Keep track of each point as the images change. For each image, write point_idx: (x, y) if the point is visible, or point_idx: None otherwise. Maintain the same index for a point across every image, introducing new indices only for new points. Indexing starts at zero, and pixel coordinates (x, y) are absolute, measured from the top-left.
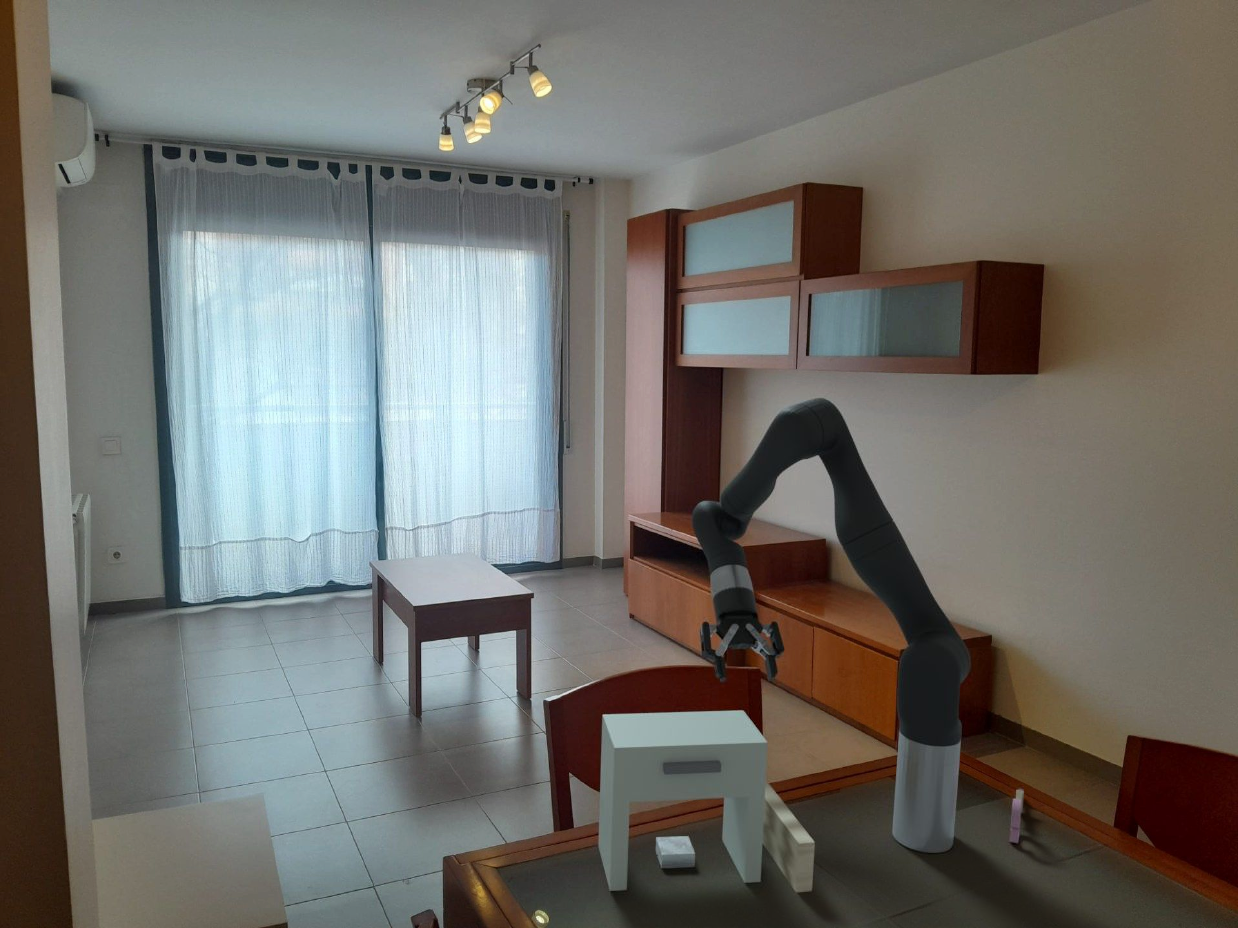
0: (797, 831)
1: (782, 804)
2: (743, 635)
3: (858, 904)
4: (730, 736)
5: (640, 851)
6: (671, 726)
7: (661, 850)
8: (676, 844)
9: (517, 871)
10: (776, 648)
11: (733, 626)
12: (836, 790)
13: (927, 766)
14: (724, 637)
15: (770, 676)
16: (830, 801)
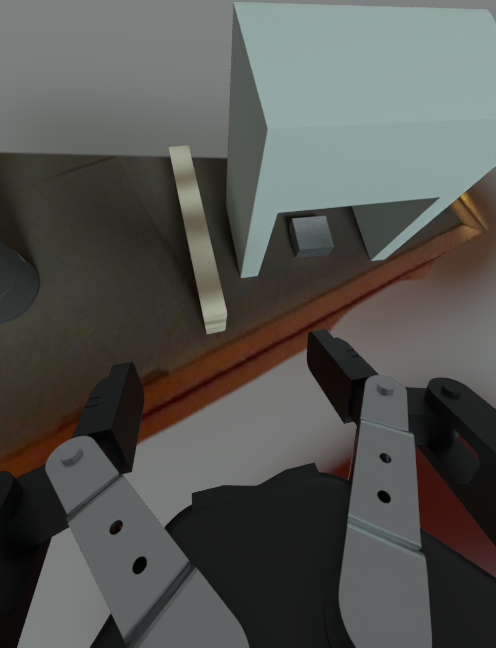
0: (183, 167)
1: (188, 226)
2: (261, 558)
3: (137, 173)
4: (303, 26)
5: (342, 251)
6: (416, 65)
7: (326, 223)
8: (311, 233)
9: (443, 218)
10: (14, 514)
11: (403, 605)
12: (66, 421)
13: None
14: (413, 461)
15: (135, 372)
16: (90, 382)
